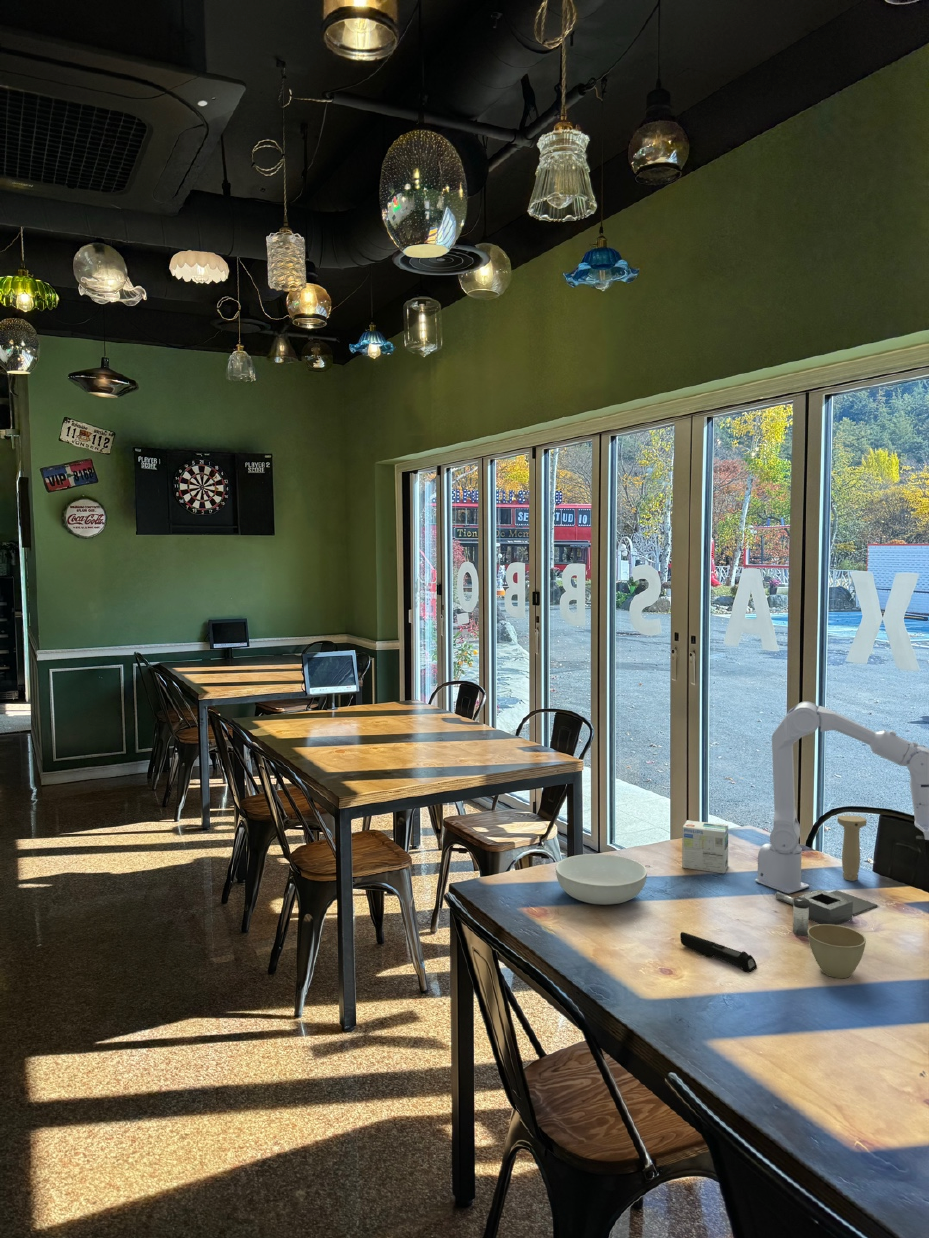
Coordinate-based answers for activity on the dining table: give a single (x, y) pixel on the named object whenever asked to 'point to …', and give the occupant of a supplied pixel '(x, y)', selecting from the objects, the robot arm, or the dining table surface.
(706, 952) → the electric trimmer
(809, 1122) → the dining table surface
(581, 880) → the serving bowl
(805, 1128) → the dining table surface
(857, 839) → the handle
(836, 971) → the flower pot
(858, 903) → the mat
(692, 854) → the light bulb box
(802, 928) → the spice shaker
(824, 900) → the grey hollow block
